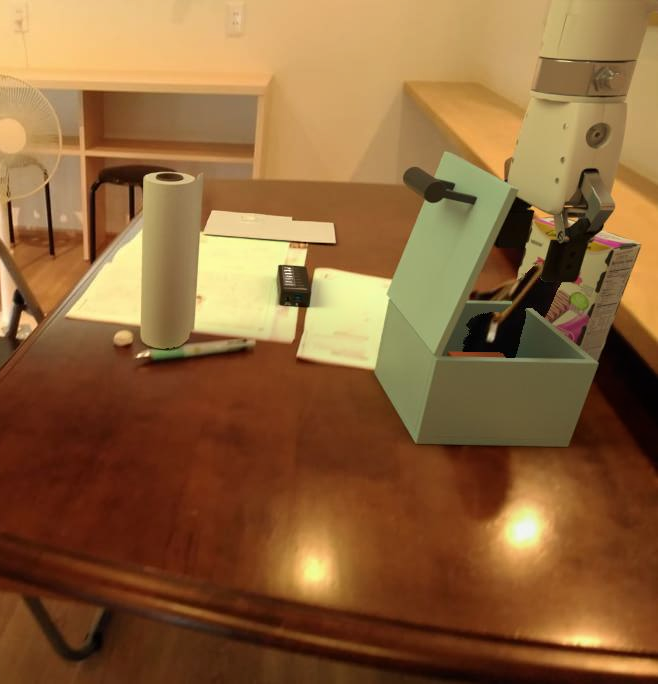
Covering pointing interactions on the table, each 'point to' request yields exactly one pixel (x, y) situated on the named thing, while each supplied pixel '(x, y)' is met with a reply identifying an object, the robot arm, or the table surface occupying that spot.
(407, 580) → the table surface
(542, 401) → the box
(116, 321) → the table surface
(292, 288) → the multiport hub
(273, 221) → the paper
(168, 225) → the paper towel roll
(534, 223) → the candy bar box
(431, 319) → the freezer lid
